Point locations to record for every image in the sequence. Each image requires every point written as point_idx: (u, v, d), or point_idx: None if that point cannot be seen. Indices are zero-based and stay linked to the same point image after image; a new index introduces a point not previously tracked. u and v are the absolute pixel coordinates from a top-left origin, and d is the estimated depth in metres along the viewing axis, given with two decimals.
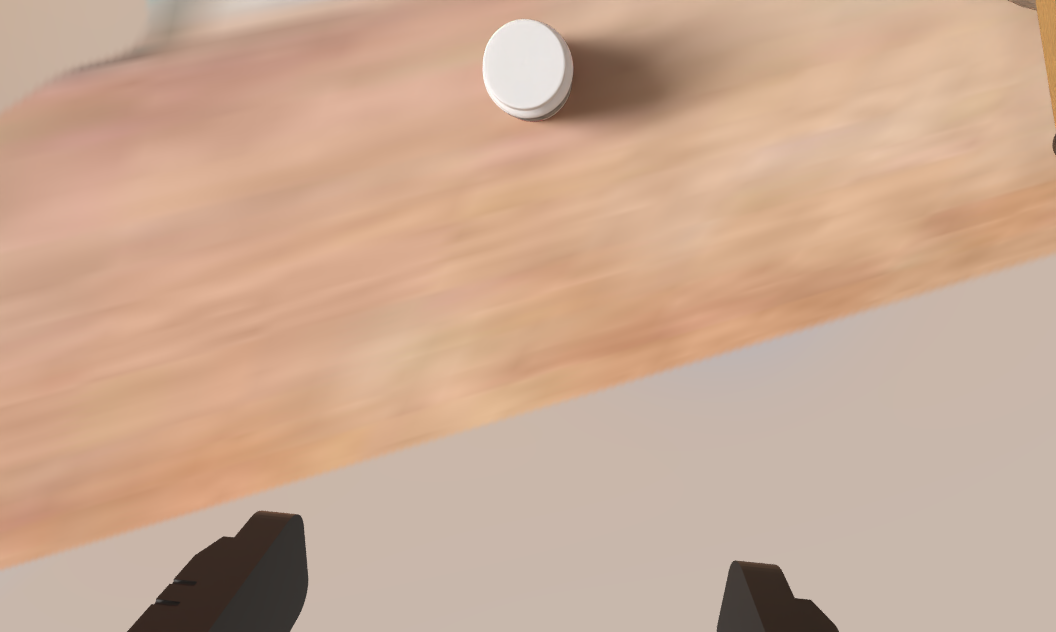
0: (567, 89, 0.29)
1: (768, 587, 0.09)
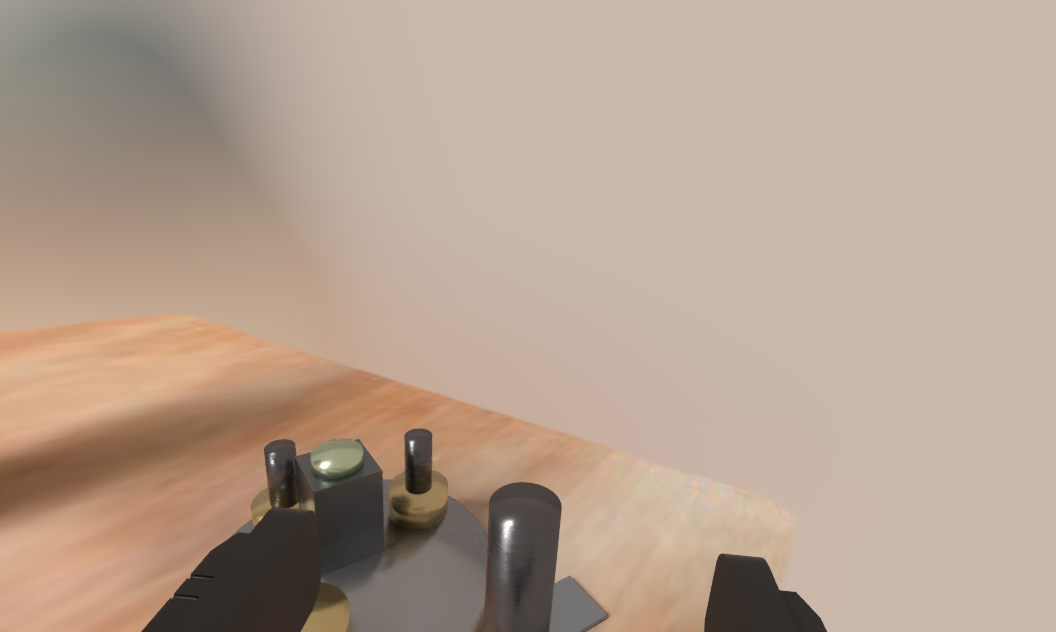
0: None
1: (753, 579, 0.09)
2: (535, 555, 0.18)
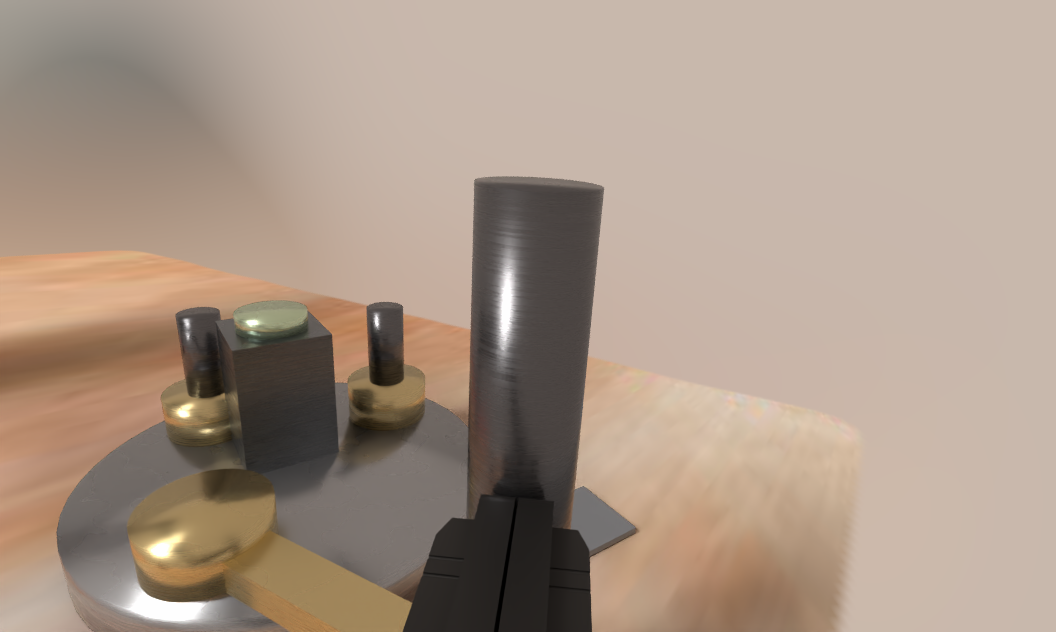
0: None
1: (534, 517, 0.10)
2: (561, 253, 0.10)
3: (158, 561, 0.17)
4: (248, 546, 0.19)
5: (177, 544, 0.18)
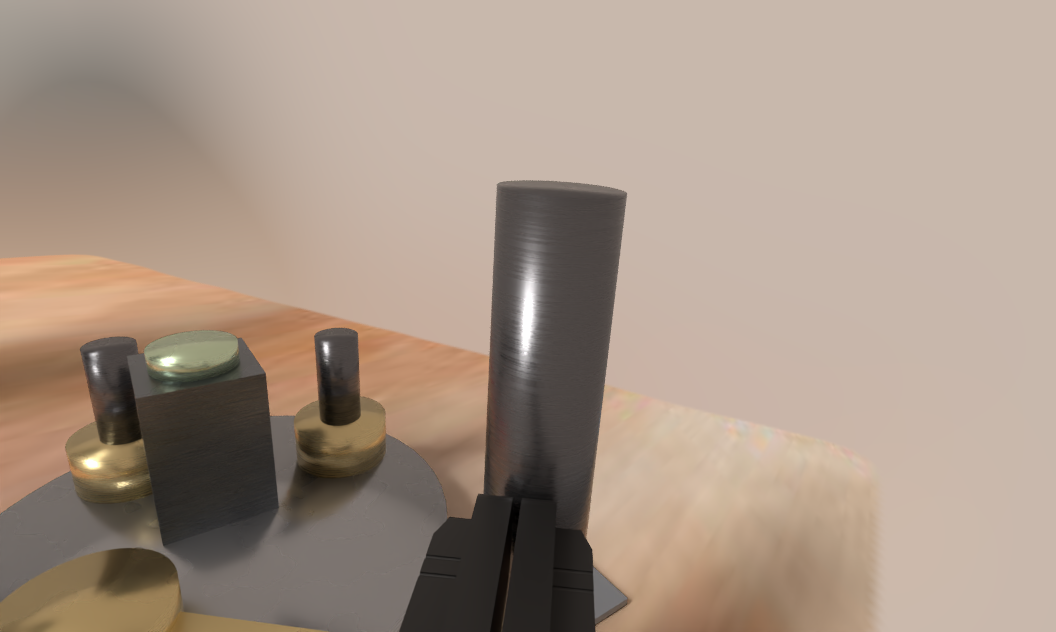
0: None
1: (537, 517, 0.10)
2: (605, 257, 0.10)
3: None
4: None
5: None
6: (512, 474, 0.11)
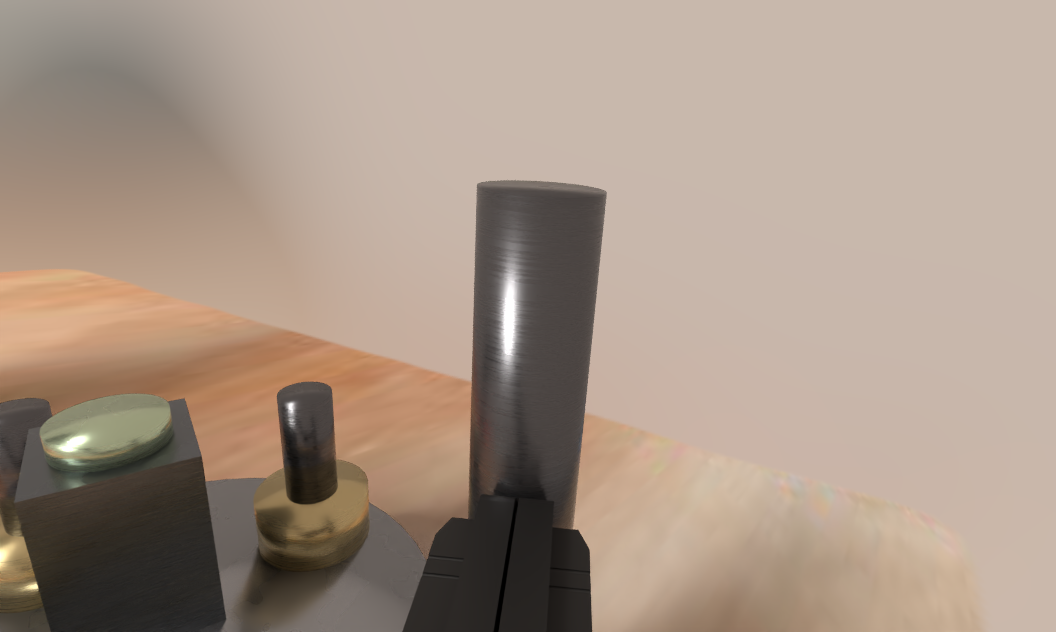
0: None
1: (534, 517, 0.10)
2: (598, 252, 0.10)
3: None
4: None
5: None
6: (520, 479, 0.11)
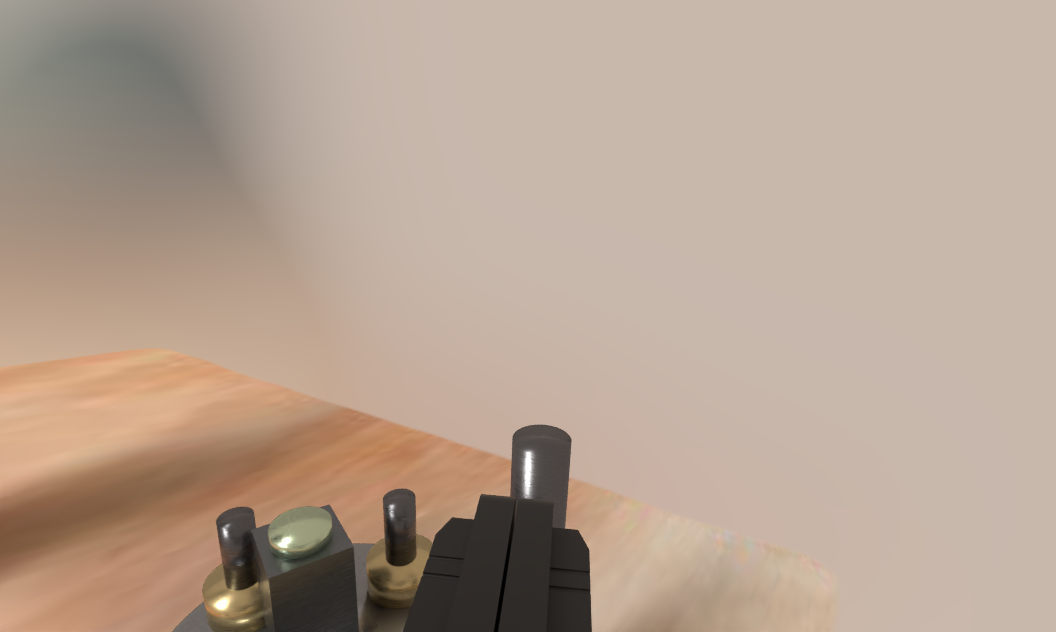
0: None
1: (534, 517, 0.10)
2: (568, 468, 0.23)
3: None
4: None
5: None
6: None
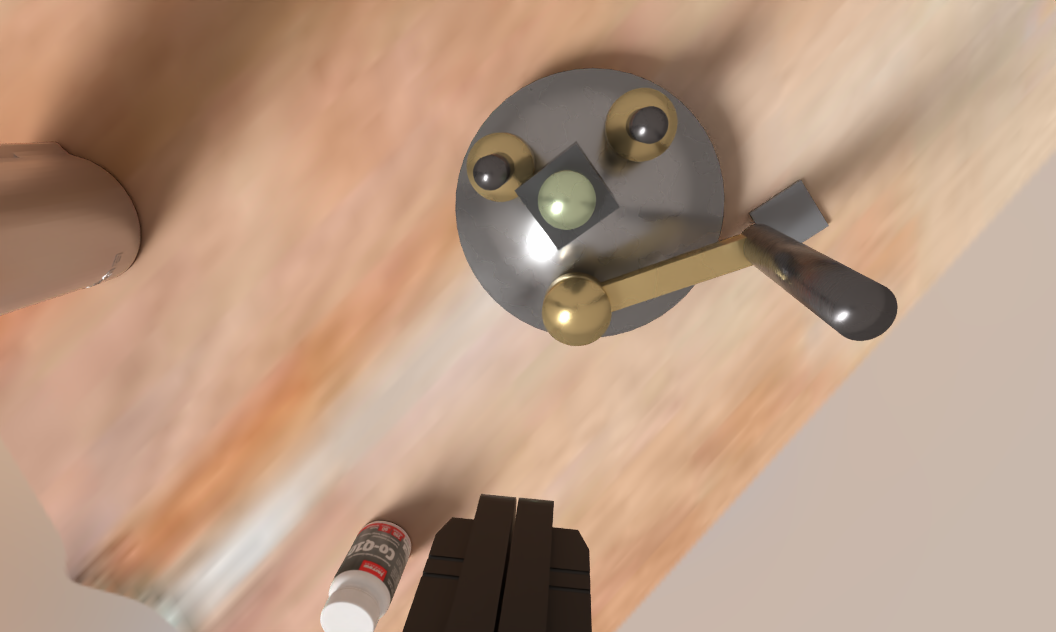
0: (386, 595, 0.42)
1: (533, 517, 0.10)
2: None
3: None
4: (609, 300, 0.36)
5: (599, 330, 0.36)
6: None
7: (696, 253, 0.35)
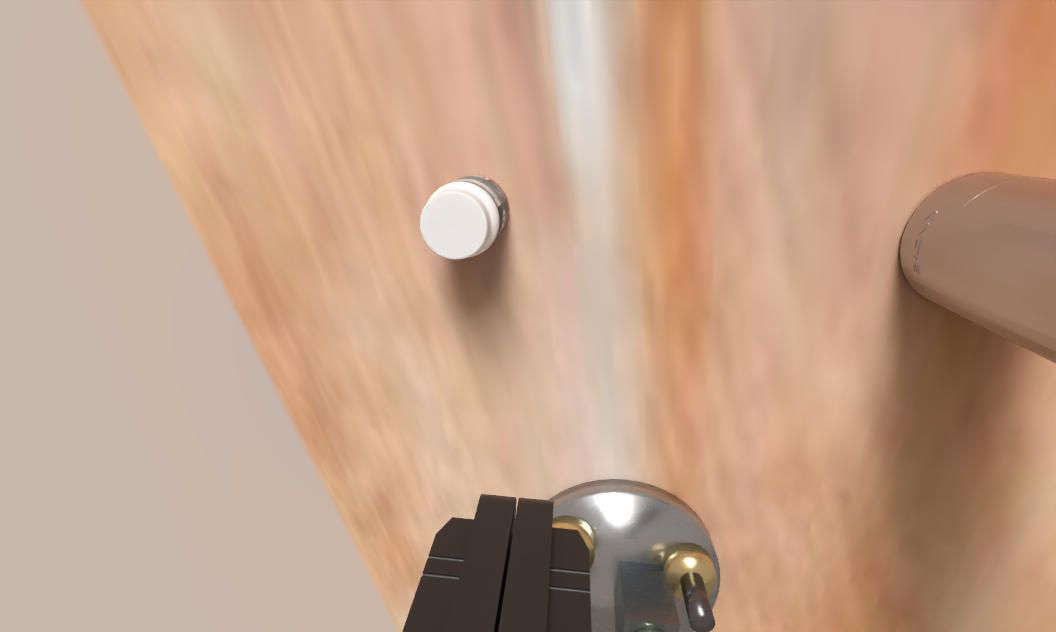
0: None
1: (534, 517, 0.10)
2: None
3: None
4: None
5: None
6: None
7: None
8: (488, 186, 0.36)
